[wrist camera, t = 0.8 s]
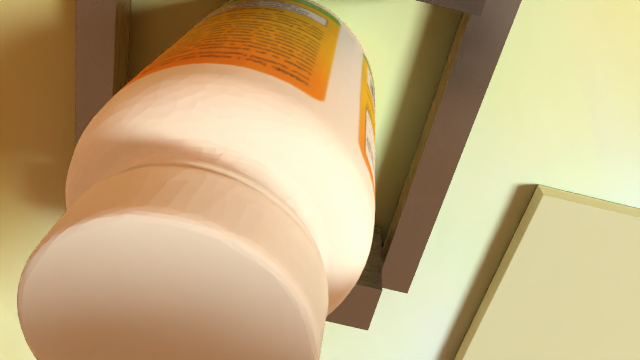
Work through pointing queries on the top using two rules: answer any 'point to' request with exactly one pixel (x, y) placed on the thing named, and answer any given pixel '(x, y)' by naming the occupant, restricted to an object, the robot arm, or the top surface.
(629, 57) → the top surface
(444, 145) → the grey low square frame
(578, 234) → the pad
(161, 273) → the supplement bottle
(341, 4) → the top surface
